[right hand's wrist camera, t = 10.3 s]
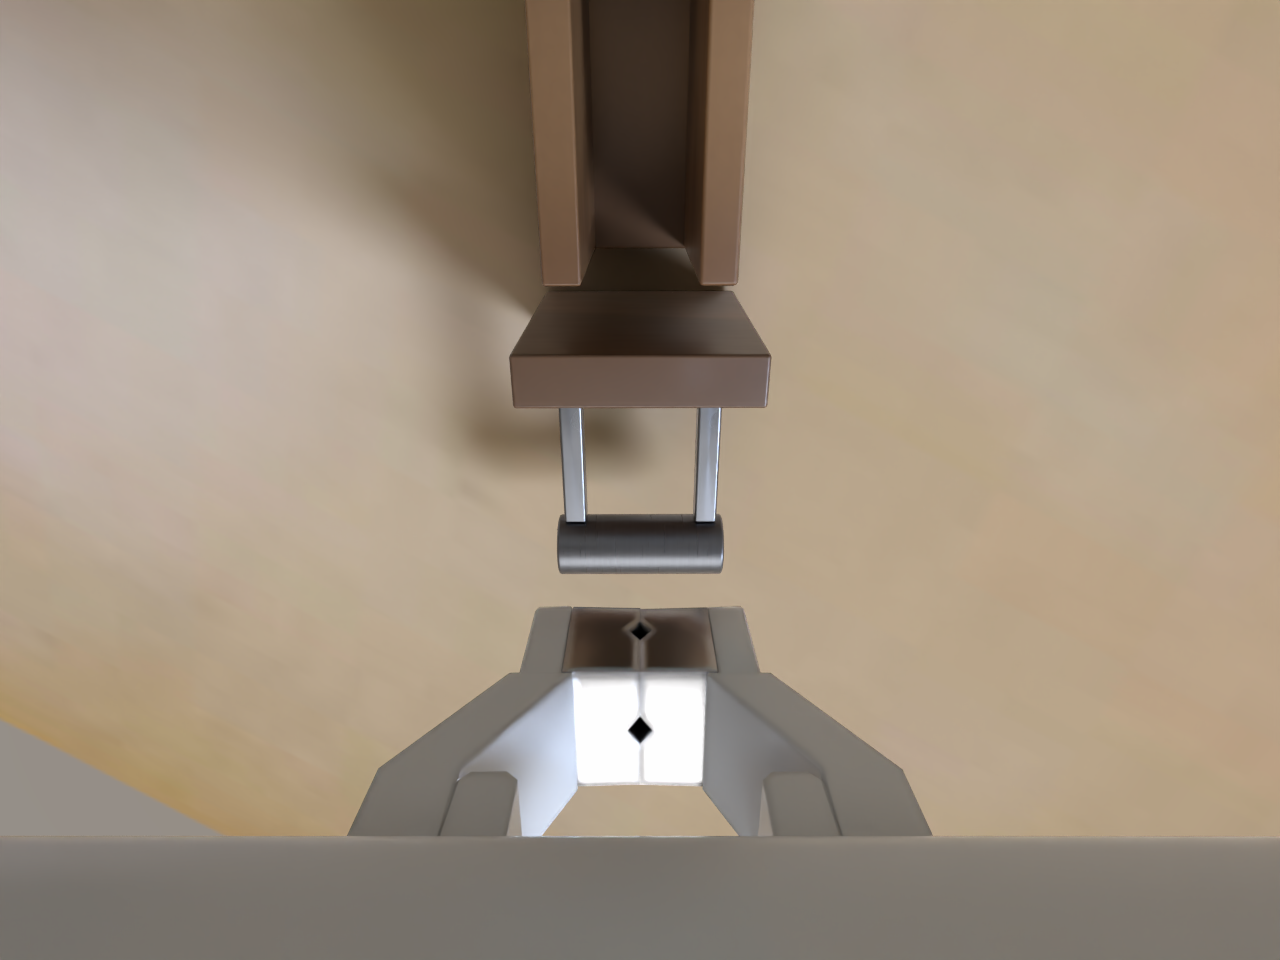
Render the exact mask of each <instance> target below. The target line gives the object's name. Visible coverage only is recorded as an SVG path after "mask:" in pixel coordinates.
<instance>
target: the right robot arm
mask: <svg viewBox="0 0 1280 960" xmlns="http://www.w3.org/2000/svg"><path fill="white" fill-rule="evenodd" d="M637 784H640V785H677V786H703V790H704V792H705V793H706V794H707V795H708V797H709V798H710V799H711V801H712V802H713V803H714V804H715V806H716V807H717V808H718V810H719V811H720V812H721V813H722V815H723V816H724V817H725V819H726V820H727V821H728V822H729V824H730V825H731V826H732V828H733V829H734V830H735V831H736V833H737V834H738V835H739V836H542V834H543V833H544V832H545V831H546V829H547V828H548V827H549V826H550V824H551V823H552V822H553V820H554V819H555V818H556V817H557V815H558V814H559V813H560V811H561V810H562V809H563V808H564V806H565V805H566V804H567V802H568V801H569V800H570V799H571V797H572V796H573V795H574V794H575V792H576V791H577V786H602V785H637ZM0 960H1280V836H933V835H932V833H931V831H930V828H929V826H928V824H927V822H926V820H925V818H924V815H923V813H922V811H921V809H920V807H919V804H918V802H917V800H916V798H915V796H914V794H913V791H912V789H911V787H910V785H909V783H908V781H907V778H906V776H905V774H904V772H903V770H902V769H901V768H900V767H898V766H897V765H896V764H894V763H893V762H891V761H890V760H889V759H887V758H886V757H885V756H883V755H882V754H880V753H879V752H878V751H876V750H875V749H874V748H872V747H871V746H870V745H868V744H867V743H865V742H864V741H863V740H861V739H860V738H859V737H857V736H856V735H855V734H853V733H852V732H850V731H849V730H848V729H846V728H845V727H844V726H842V725H841V724H840V723H838V722H837V721H835V720H834V719H833V718H831V717H830V716H829V715H827V714H826V713H824V712H823V711H822V710H820V709H819V708H818V707H816V706H815V705H814V704H812V703H811V702H809V701H808V700H807V699H805V698H804V697H803V696H801V695H800V694H799V693H797V692H796V691H794V690H793V689H792V688H790V687H789V686H788V685H786V684H785V683H784V682H782V681H781V680H779V679H778V678H777V677H775V676H774V675H773V674H771V673H760V669H759V665H758V661H757V658H756V654H755V650H754V646H753V642H752V638H751V635H750V631H749V627H748V623H747V619H746V615H745V612H744V609H743V608H742V607H741V606H733V607H708V608H667V609H640V608H601V607H573V608H572V607H571V606H570V607H539V608H538V609H537V610H536V611H535V615H534V618H533V622H532V626H531V630H530V634H529V638H528V642H527V646H526V650H525V653H524V657H523V661H522V665H521V669H520V673H509V674H507V675H506V676H505V677H503V678H502V679H501V680H499V681H498V682H496V683H495V684H494V685H492V686H491V687H490V688H488V689H487V690H485V691H484V692H483V693H481V694H480V695H479V696H477V697H476V698H475V699H473V700H472V701H470V702H469V703H468V704H466V705H465V706H464V707H462V708H461V709H459V710H458V711H457V712H455V713H454V714H453V715H451V716H450V717H448V718H447V719H446V720H444V721H443V722H442V723H440V724H439V725H437V726H436V727H435V728H433V729H432V730H431V731H429V732H428V733H426V734H425V735H424V736H422V737H421V738H420V739H418V740H417V741H415V742H414V743H413V744H411V745H410V746H409V747H407V748H406V749H405V750H403V751H402V752H400V753H399V754H398V755H396V756H395V757H394V758H392V759H391V760H389V761H388V762H387V763H385V764H384V765H383V766H381V767H380V768H378V771H377V773H376V775H375V777H374V779H373V781H372V783H371V786H370V788H369V790H368V792H367V794H366V796H365V798H364V801H363V803H362V805H361V807H360V809H359V811H358V813H357V816H356V818H355V820H354V822H353V824H352V826H351V828H350V831H349V833H348V835H347V836H0Z"/></svg>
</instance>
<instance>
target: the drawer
mask: <svg viewBox="0 0 1280 960" xmlns="http://www.w3.org/2000/svg"><path fill="white" fill-rule="evenodd" d="M525 14H526V30H527V46H528V62H529V79H530V95H531V111H532V127H533V143H534V160H535V176H536V192H537V208H538V225H539V241H540V257H541V273H542V284H543V285H544V286H580V285H581V283H582V280H583V277H584V275H585V272H586V270H587V267H588V265H589V262H590V259H591V257H592V254H593V252H594V249H595V248H685V249H686V251H687V253H688V256H689V258H690V261H691V263H692V266H693V268H694V271H695V273H696V276H697V278H698V280H699V283H700V284H701V285H703V286H733V285H736V284H737V282H738V272H739V255H740V238H741V221H742V203H743V186H744V169H745V152H746V135H747V117H748V100H749V83H750V66H751V49H752V32H753V14H754V0H525ZM509 362H510V373H511V385H512V397H513V406H514V408H559V423H560V441H561V459H562V477H563V495H564V513H565V514H563V515H561V516H560V518H559V522H558V532H557V560H558V568H559V572H560V573H561V574H719V573H721V571H722V568H723V559H724V534H723V523H722V518H721V516H720V515H719V514H716V508H717V489H718V470H719V451H720V432H721V412H722V408H765V407H766V406H767V403H768V391H769V379H770V367H771V355H770V353H769V351H768V350H767V348H766V346H765V345H764V343H763V341H762V340H761V338H760V336H759V335H758V333H757V331H756V330H755V328H754V326H753V325H752V323H751V321H750V320H749V318H748V316H747V315H746V313H745V311H744V309H743V308H742V306H741V304H740V303H739V301H738V299H737V298H736V296H735V294H734V293H733V292H732V291H548V292H547V293H546V294H545V296H544V298H543V300H542V301H541V303H540V305H539V306H538V308H537V310H536V312H535V313H534V315H533V317H532V318H531V320H530V322H529V324H528V325H527V327H526V329H525V330H524V332H523V334H522V335H521V337H520V339H519V341H518V342H517V344H516V346H515V347H514V349H513V351H512V353H511V354H510V357H509ZM583 408H697V419H696V447H695V475H694V503H693V514H587V512H588V510H587V485H586V460H585V434H584V409H583Z"/></svg>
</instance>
